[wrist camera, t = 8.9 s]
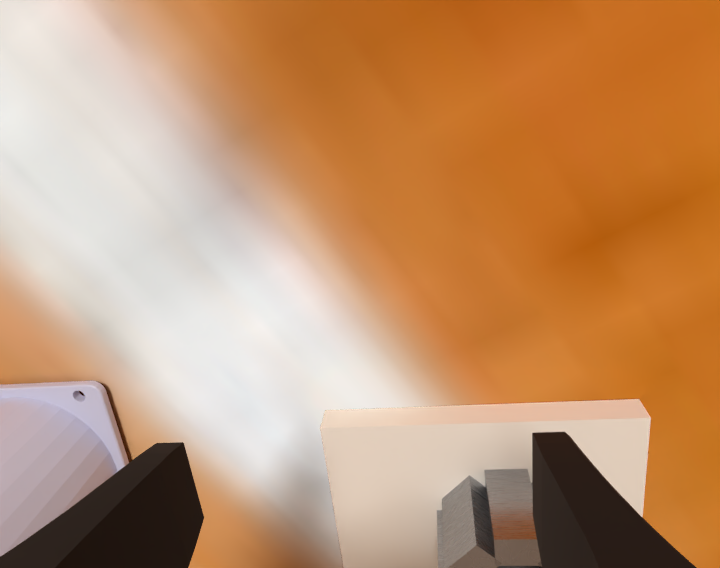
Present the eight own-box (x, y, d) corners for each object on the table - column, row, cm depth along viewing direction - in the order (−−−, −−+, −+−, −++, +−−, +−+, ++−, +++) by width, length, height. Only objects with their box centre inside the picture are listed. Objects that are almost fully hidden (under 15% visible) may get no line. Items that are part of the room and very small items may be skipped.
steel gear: (442, 576, 24) (445, 654, 21) (433, 470, 22) (434, 540, 19) (578, 576, 23) (601, 657, 20) (581, 467, 21) (607, 538, 18)
